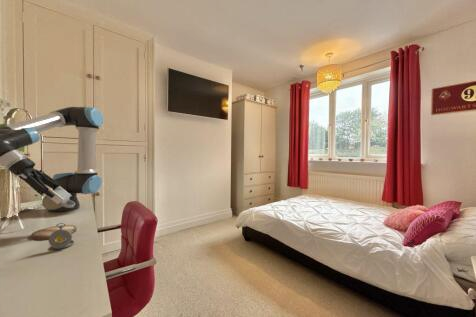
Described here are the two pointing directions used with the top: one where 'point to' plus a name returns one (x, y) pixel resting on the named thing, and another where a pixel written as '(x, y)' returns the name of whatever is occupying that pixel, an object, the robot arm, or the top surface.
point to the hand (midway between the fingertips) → (65, 199)
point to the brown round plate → (50, 232)
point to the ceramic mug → (52, 205)
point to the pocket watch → (61, 238)
